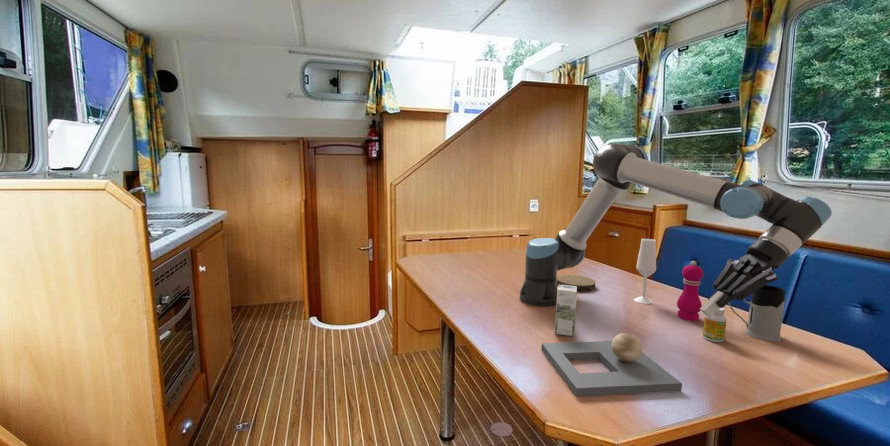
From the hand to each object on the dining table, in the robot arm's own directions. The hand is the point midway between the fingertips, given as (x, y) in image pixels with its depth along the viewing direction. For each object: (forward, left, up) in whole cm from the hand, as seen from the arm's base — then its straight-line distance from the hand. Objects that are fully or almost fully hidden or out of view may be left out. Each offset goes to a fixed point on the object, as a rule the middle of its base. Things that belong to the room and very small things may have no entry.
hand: (705, 313), depth 98 cm
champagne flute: (-19, +47, -14) cm, 52 cm away
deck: (-20, -16, -14) cm, 29 cm away
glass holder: (+13, +34, -14) cm, 39 cm away
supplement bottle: (+3, +22, -14) cm, 26 cm away
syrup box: (-35, 0, -14) cm, 38 cm away
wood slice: (-46, +50, -15) cm, 70 cm away
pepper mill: (-4, +37, -14) cm, 39 cm away
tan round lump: (-16, -13, -9) cm, 22 cm away
